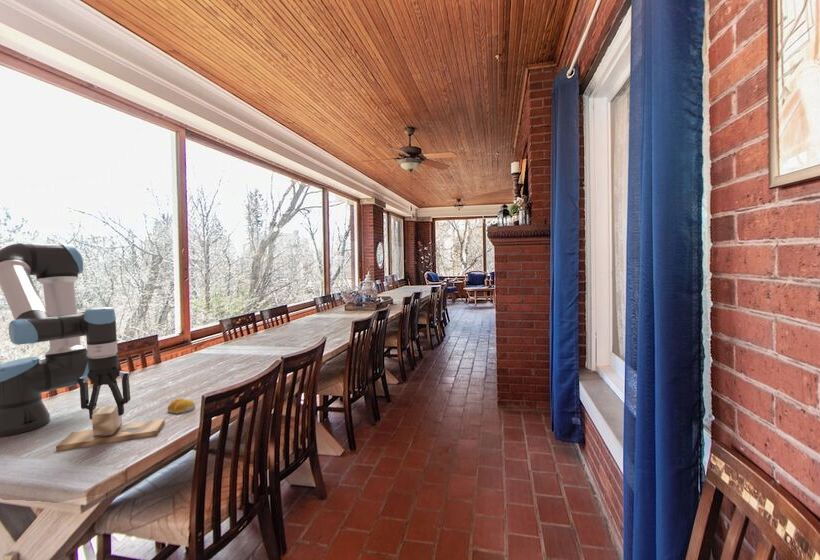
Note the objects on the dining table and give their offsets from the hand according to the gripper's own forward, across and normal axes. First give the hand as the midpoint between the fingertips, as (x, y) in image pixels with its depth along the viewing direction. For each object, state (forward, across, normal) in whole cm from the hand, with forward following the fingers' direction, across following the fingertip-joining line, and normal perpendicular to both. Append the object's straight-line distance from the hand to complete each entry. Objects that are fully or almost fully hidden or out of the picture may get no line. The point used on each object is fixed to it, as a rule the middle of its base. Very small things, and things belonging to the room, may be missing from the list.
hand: (108, 426), depth 123 cm
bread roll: (+4, +17, +18) cm, 25 cm away
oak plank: (+3, +2, 0) cm, 4 cm away
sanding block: (+1, 0, 0) cm, 1 cm away
